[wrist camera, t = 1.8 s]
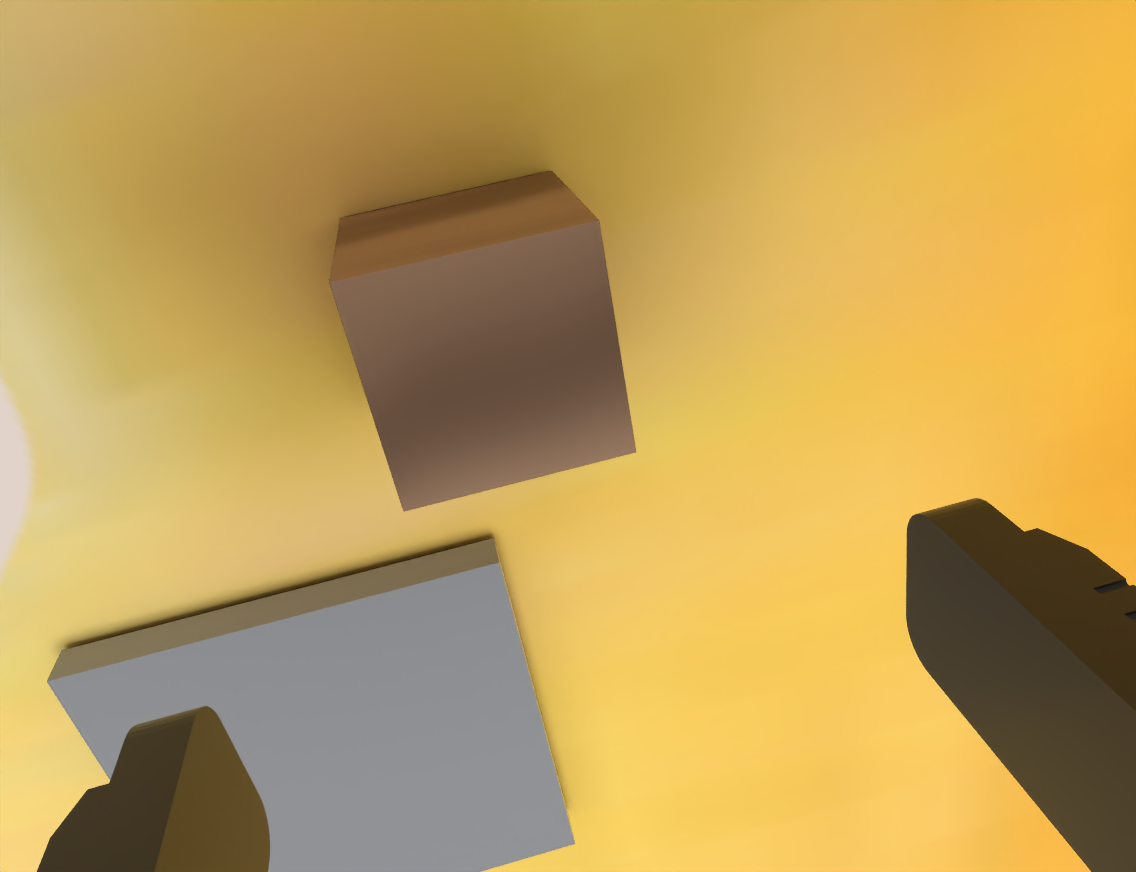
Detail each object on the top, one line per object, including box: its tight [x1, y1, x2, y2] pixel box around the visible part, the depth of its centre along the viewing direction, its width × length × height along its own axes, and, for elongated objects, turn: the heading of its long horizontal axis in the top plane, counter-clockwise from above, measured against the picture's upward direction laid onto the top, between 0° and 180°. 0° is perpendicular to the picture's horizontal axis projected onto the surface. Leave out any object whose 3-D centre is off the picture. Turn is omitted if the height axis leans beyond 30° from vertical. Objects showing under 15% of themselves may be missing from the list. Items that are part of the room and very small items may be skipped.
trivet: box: [47, 538, 575, 872], centre depth 26 cm, size 12×12×1 cm
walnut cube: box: [329, 171, 636, 511], centre depth 19 cm, size 5×5×5 cm
